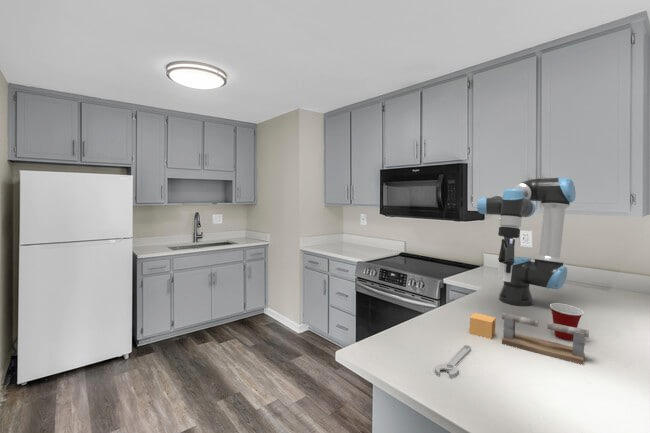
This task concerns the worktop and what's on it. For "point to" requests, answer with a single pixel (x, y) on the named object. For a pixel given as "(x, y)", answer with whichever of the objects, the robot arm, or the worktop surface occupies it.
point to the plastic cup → (565, 318)
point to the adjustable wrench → (453, 362)
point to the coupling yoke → (482, 325)
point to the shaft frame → (544, 346)
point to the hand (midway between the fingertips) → (503, 279)
